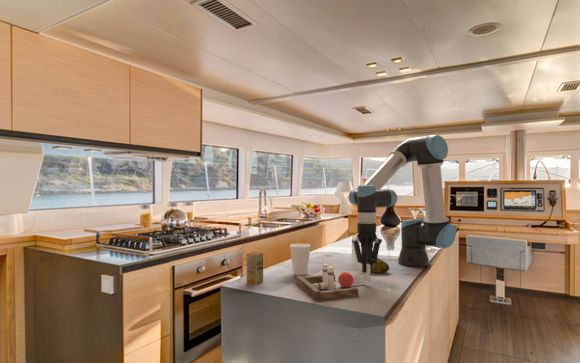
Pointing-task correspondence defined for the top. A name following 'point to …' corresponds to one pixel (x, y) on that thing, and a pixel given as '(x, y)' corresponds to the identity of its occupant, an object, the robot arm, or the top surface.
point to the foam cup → (300, 258)
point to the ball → (345, 279)
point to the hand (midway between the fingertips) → (367, 280)
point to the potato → (380, 266)
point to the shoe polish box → (254, 268)
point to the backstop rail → (320, 295)
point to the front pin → (322, 285)
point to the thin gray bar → (357, 285)
